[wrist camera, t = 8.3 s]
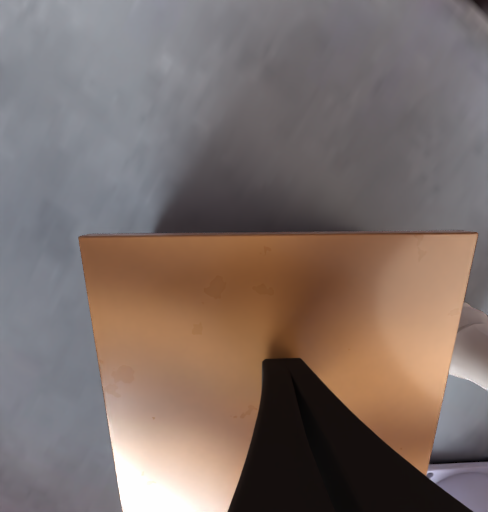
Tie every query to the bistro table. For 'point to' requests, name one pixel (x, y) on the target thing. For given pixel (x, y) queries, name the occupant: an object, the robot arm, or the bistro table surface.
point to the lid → (264, 343)
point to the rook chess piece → (471, 347)
